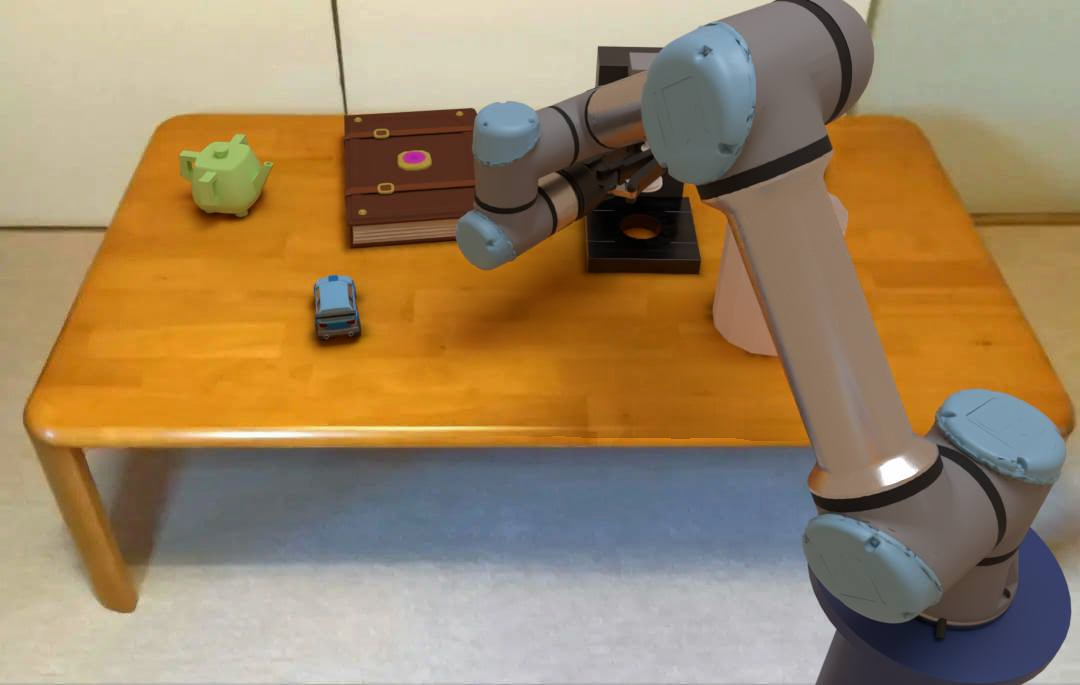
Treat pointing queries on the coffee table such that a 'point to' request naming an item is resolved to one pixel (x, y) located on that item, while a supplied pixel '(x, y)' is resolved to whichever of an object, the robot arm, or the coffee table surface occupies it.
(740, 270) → the container
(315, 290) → the toy car
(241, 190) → the teapot
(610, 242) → the drip pan
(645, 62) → the column
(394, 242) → the book
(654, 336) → the coffee table surface
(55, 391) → the coffee table surface
